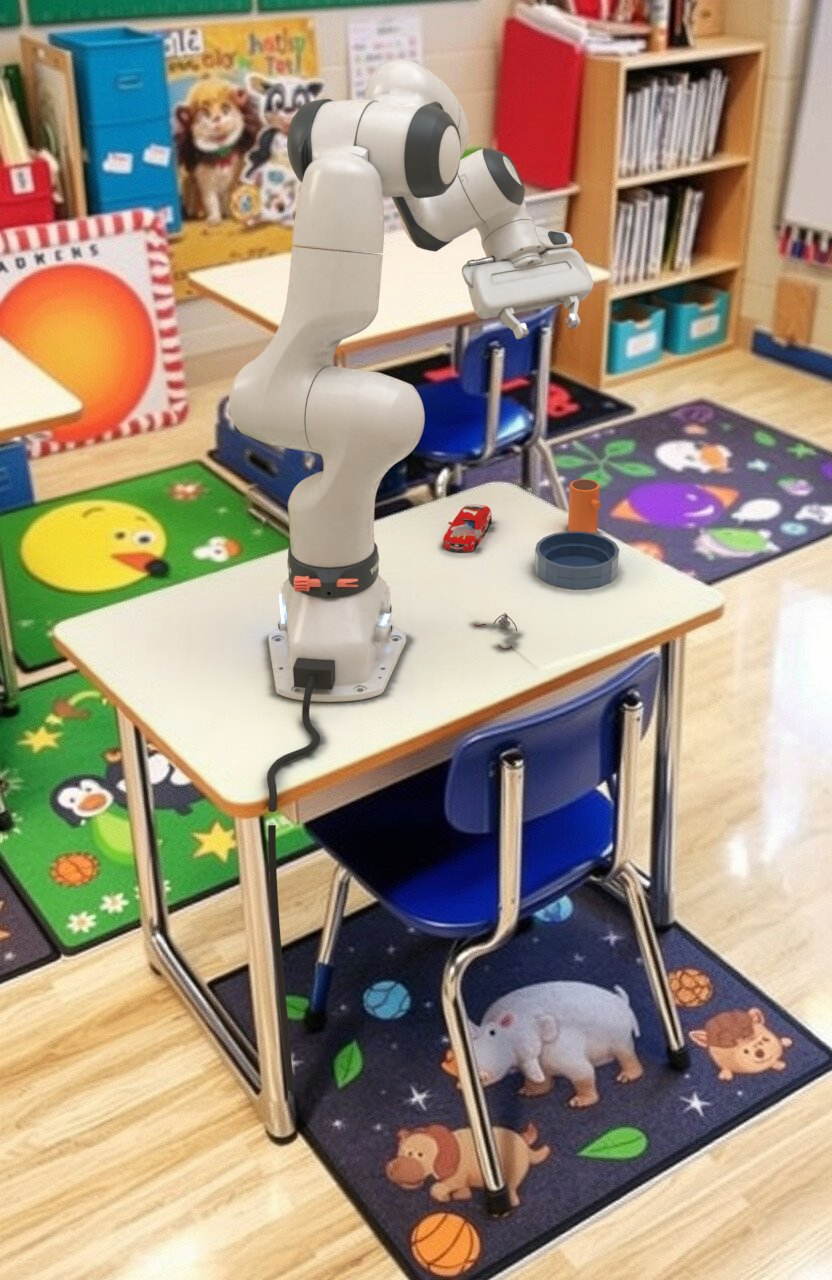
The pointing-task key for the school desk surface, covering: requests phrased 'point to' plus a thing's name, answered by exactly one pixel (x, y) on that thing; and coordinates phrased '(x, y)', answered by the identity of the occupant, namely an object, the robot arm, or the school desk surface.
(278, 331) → the robot arm
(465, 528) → the race car
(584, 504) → the orange cylinder with nub
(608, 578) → the bowl
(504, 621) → the pendant
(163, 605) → the school desk surface
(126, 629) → the school desk surface
